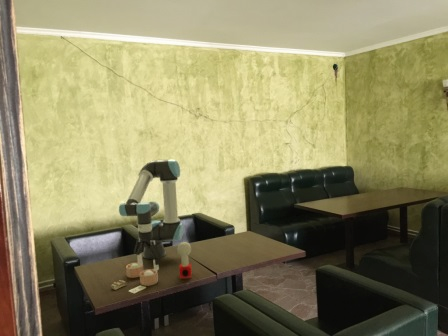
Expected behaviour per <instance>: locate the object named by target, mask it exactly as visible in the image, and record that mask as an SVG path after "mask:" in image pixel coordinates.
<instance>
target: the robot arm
mask: <svg viewBox="0 0 448 336" xmlns="http://www.w3.org/2000/svg"><path fill="white" fill-rule="evenodd" d="M180 176H181V169H180V165H179V162H178V161H177V160H176V159H170V158H169V159H156V160H155V159H154V160H152V161H149V162H147V163H146V164H145V165H144V166H142V168H141V169H140V171H139V172H138V178H137V180H136V183H135V185H134V186H133V188H132V191H131V192H130V195H129V196H128V199H127V200H126V203H125V202H123V203H121V204H119V208H118V213H119V215H120V216H121V217H136V219H137V230H138V237H136V242H135V245H134V249H133V254H135V255H136V260H137V263H138V266H141V265H143V266H144V263H143V258H144V259H147V260H152V261H153V269H154V271H157V272H158V270H160V267H159V264H160V261H159V259H160V258H163V257H165V256H166V249H165V246H164V243H163V241H165V242H167V241H172V242H175V241H180V240H182V238H183V235H184V230H185V228H184V227H185V226H184V223H183V222H181V219H180V218H179V216H178V199H177V184H176V182H177V181H178V179H179V177H180ZM156 178H159V181H160V183H162V195H163V208H164V209H163V212H164V218H163V220H162V221H161V220H152V217H153V216H155V215H157V214H158V213H159V211H160V205H159V204H158V202H156V201H149V202H148V201H143V202H142V200H143V198H144V195H145V193H146V191H147V189H148V187H149V184H150V183H151V182H152V181H153V180H154V179H156ZM142 252H143V253H142ZM142 263H143V264H142Z"/></svg>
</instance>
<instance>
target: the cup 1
mask: <svg viewBox="0 0 448 336" xmlns="http://www.w3.org/2000/svg"><path fill="white" fill-rule="evenodd" d="M132 264H138V262H131V263H129V264H127V265H125V266H126V267H125V270H126V277H128V278H130V279H132V278H133V279H135V278H140V272H142V271H144V270H145V269H144V263H143V262H142V264H143V265H141V266H140V267H137V268H130V266H131V265H132Z"/></svg>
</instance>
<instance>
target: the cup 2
mask: <svg viewBox="0 0 448 336" xmlns="http://www.w3.org/2000/svg"><path fill="white" fill-rule="evenodd" d="M143 270H144V271H142V272H140V277H139V281H140V285H141V286H144V287H148V286H153V285H156V284H157V283H158V282H159V275H158V270H157V271H154V268H152V269H143ZM148 270H150V271H152V272H153V273H154V274H152V275H146V276H145V275H144V273H145V272H146V271H148Z"/></svg>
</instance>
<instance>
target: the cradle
mask: <svg viewBox="0 0 448 336" xmlns="http://www.w3.org/2000/svg"><path fill="white" fill-rule="evenodd" d="M126 285H127V282H126V281H125V280H120V279H119V280H118V281H117V282H115V281H114V282H113V284H111V289H112V290H118V289H121V288H122V287H125V286H126Z"/></svg>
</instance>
